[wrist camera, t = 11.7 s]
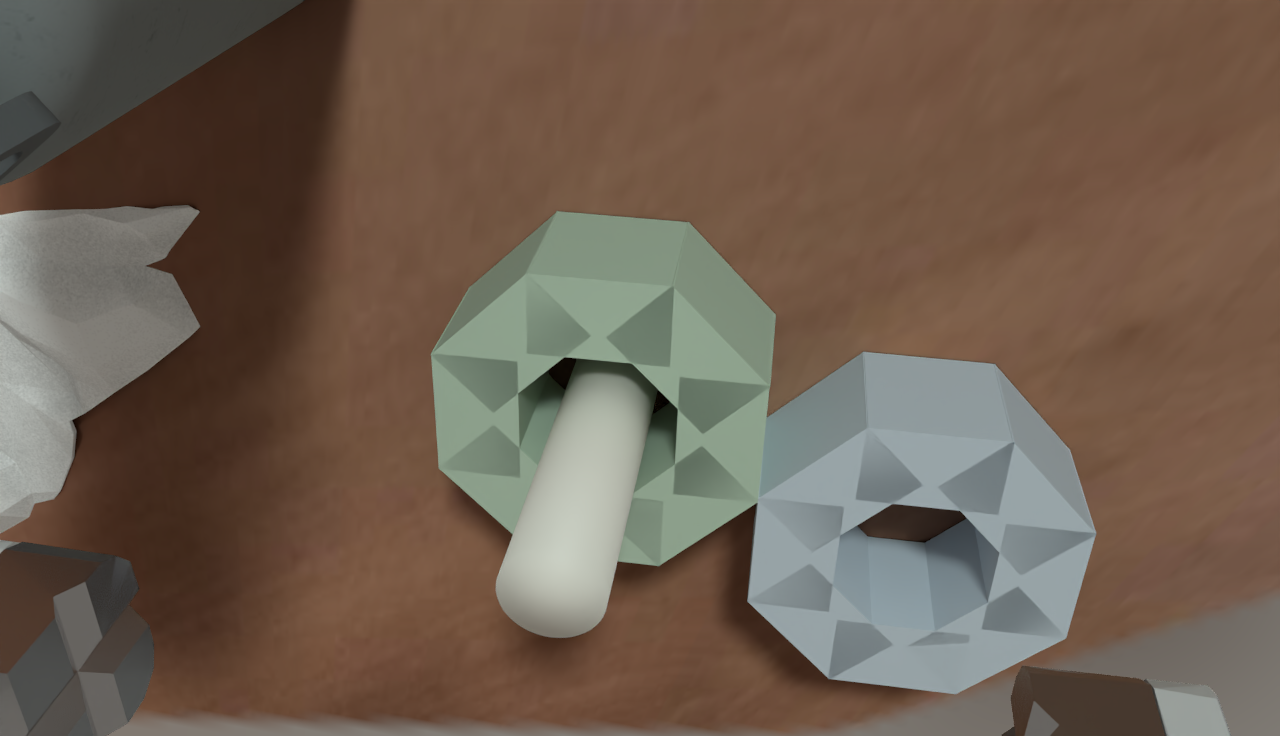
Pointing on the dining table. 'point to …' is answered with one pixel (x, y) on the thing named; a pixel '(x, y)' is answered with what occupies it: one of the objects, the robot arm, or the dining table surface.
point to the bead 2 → (905, 570)
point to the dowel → (578, 503)
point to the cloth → (77, 330)
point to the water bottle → (102, 63)
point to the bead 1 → (617, 332)
